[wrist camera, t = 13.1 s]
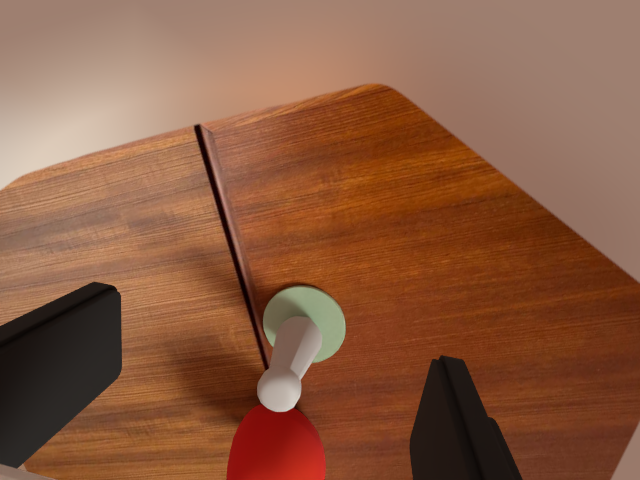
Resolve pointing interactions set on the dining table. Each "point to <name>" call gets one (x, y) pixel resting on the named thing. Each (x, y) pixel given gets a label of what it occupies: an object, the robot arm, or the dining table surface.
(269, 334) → the coaster
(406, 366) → the dining table surface
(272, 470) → the tomato
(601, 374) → the dining table surface
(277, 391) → the salt shaker
